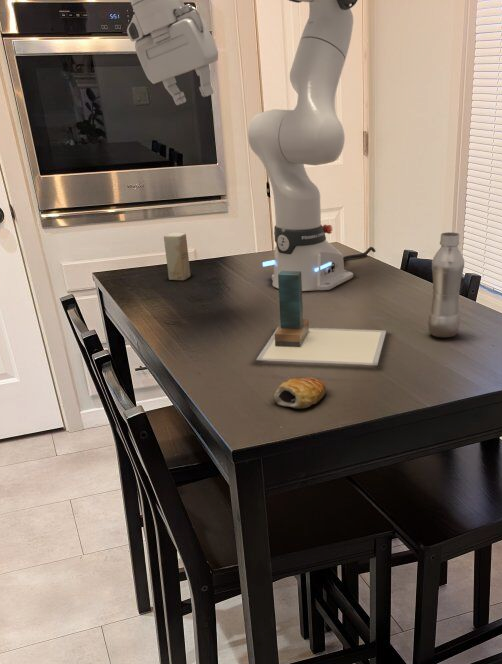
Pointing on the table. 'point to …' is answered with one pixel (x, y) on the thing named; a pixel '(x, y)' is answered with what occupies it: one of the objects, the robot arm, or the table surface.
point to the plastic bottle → (446, 287)
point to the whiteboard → (330, 347)
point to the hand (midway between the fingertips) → (194, 99)
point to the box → (177, 256)
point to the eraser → (291, 310)
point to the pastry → (300, 392)
